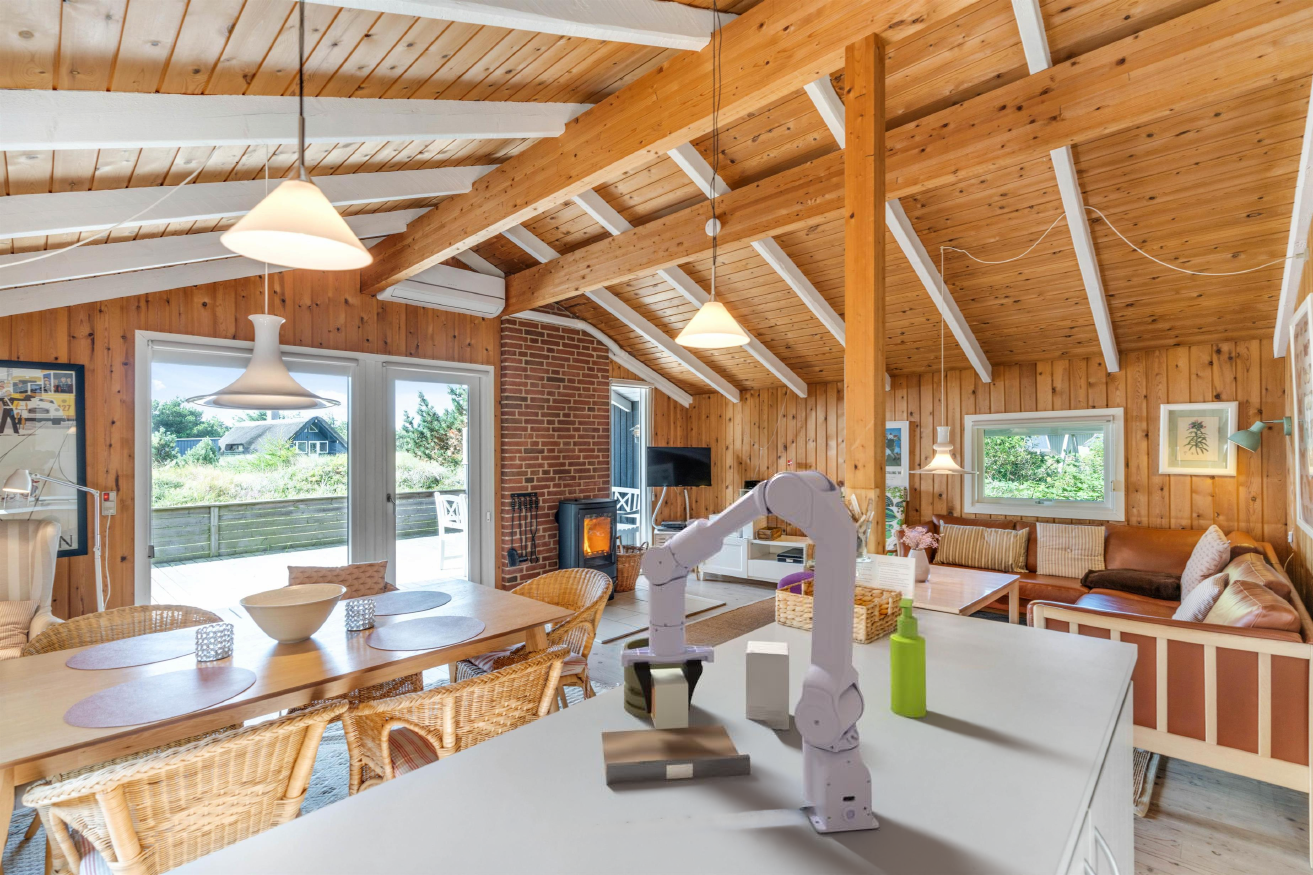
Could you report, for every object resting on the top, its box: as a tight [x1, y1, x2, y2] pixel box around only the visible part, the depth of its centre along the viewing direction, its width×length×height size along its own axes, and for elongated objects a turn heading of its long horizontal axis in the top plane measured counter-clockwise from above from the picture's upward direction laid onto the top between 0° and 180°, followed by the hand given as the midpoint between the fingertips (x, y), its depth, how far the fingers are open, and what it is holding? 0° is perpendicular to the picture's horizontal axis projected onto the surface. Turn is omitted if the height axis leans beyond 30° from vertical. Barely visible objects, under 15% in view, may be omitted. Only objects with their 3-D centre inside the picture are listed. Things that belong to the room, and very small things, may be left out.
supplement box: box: [745, 640, 790, 731], centre depth 108 cm, size 7×7×13 cm
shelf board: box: [601, 724, 744, 786], centre depth 93 cm, size 16×20×2 cm
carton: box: [650, 668, 689, 729], centre depth 97 cm, size 5×7×6 cm
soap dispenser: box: [889, 597, 927, 719], centre depth 111 cm, size 6×7×20 cm
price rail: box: [605, 754, 751, 785], centre depth 85 cm, size 1×20×2 cm, turn 97°
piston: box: [623, 636, 688, 720], centre depth 111 cm, size 11×12×11 cm
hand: (667, 709), depth 97 cm, fingers closed on carton, 5 cm apart
